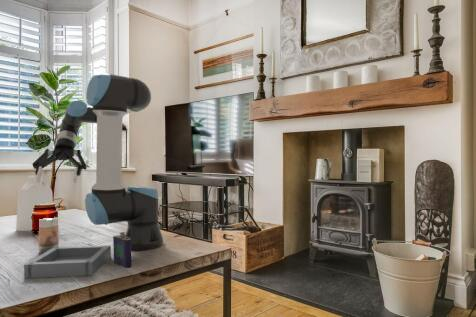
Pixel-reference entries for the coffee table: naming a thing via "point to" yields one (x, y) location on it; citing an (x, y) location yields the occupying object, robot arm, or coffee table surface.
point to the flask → (122, 250)
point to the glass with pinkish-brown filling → (48, 234)
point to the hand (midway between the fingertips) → (56, 181)
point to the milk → (31, 201)
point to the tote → (68, 262)
